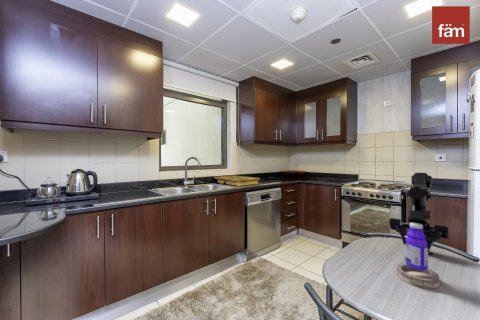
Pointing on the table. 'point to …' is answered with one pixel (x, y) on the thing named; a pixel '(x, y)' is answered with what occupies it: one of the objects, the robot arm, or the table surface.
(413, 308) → the table surface
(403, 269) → the collar base
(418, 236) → the bottle
